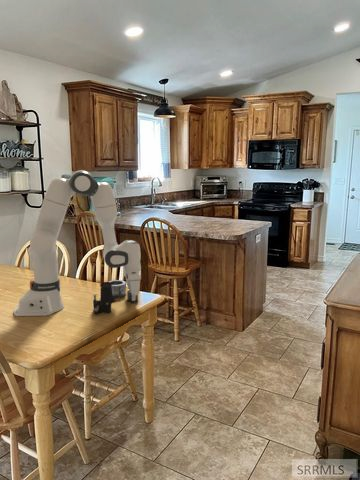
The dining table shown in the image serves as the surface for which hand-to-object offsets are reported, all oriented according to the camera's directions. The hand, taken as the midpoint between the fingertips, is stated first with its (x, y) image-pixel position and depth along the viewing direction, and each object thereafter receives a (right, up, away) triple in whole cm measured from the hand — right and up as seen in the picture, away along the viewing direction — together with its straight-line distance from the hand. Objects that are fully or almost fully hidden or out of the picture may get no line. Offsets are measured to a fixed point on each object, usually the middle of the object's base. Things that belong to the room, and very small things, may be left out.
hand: (132, 298), depth 197 cm
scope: (-12, -5, -14) cm, 19 cm away
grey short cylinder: (-10, 0, +10) cm, 14 cm away
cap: (0, -2, 0) cm, 2 cm away
